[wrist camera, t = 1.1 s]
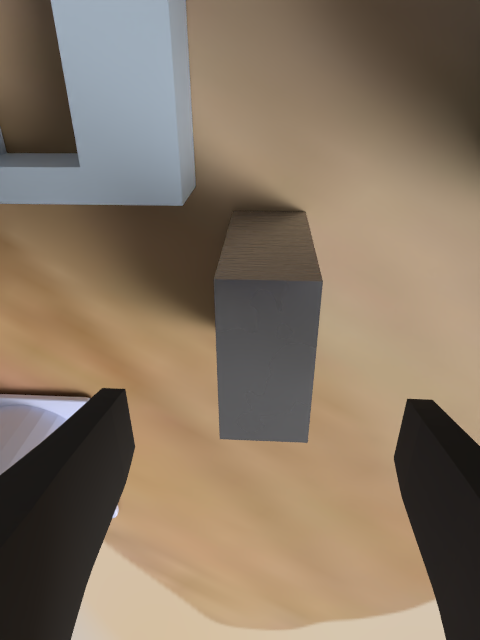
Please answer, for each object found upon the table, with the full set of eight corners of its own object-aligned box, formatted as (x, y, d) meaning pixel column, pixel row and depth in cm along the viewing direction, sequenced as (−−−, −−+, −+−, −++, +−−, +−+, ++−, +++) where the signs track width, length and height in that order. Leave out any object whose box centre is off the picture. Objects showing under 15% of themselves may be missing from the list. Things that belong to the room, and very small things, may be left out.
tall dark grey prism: (297, 335, 21) (307, 442, 15) (234, 334, 21) (219, 438, 15) (305, 211, 18) (322, 281, 12) (233, 210, 18) (213, 279, 12)
